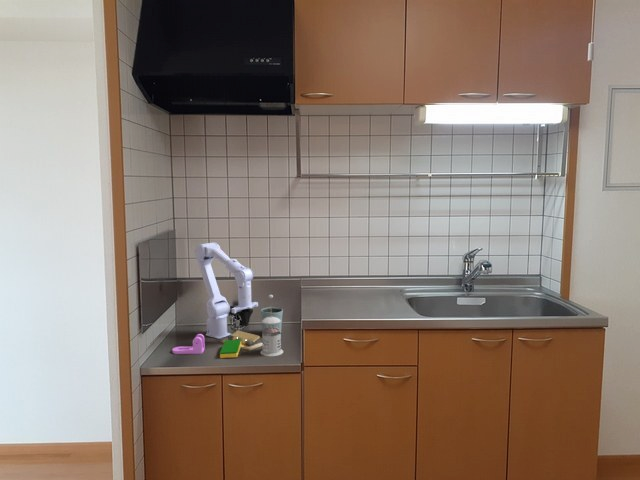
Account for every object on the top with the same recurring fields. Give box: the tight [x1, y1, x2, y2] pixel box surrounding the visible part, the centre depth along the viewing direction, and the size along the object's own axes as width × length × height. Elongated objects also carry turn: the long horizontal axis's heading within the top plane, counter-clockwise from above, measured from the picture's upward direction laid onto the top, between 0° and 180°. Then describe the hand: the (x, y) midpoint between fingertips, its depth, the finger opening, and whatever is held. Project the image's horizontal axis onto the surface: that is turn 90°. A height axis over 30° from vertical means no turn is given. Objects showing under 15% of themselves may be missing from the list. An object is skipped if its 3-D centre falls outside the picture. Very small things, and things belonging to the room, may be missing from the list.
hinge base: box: [220, 334, 263, 351], centre depth 219 cm, size 18×9×3 cm, turn 53°
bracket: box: [172, 333, 206, 355], centre depth 209 cm, size 13×6×7 cm, turn 92°
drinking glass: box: [260, 306, 284, 336], centre depth 231 cm, size 10×10×12 cm
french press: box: [259, 294, 284, 357], centre depth 208 cm, size 10×12×25 cm
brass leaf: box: [231, 329, 261, 344], centre depth 219 cm, size 14×7×2 cm, turn 53°
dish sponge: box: [219, 339, 242, 359], centre depth 208 cm, size 7×14×2 cm, turn 1°
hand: (245, 325), depth 220 cm, fingers closed
